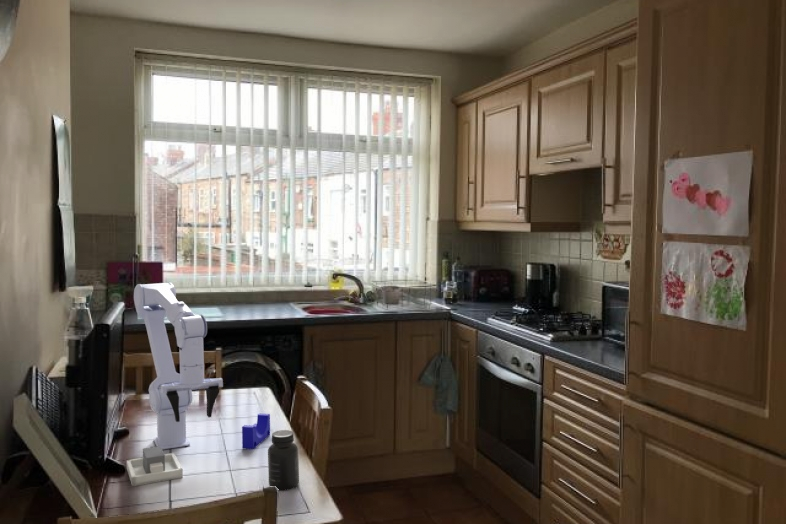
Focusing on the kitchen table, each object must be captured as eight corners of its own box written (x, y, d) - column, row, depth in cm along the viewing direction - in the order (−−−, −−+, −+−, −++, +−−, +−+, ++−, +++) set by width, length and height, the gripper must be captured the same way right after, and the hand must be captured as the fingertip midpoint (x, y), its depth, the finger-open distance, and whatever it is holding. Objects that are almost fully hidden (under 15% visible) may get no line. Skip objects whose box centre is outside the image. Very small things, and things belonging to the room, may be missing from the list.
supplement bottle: (285, 476, 154) (284, 426, 153) (305, 484, 150) (304, 432, 149) (262, 486, 149) (261, 433, 148) (282, 494, 144) (281, 440, 144)
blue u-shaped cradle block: (254, 434, 185) (254, 413, 185) (270, 435, 184) (269, 413, 184) (237, 448, 173) (236, 426, 173) (253, 449, 172) (252, 427, 172)
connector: (143, 466, 159) (142, 448, 159) (160, 463, 161) (160, 446, 161) (148, 480, 151) (147, 461, 150) (166, 477, 153) (166, 458, 152)
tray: (126, 468, 159) (126, 460, 159) (174, 460, 164) (174, 452, 164) (132, 486, 149) (131, 477, 149) (182, 477, 154) (182, 469, 154)
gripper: (163, 370, 157) (165, 427, 158) (225, 364, 163) (226, 418, 164) (159, 365, 163) (161, 419, 164) (218, 359, 170) (220, 411, 170)
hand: (193, 418), depth 164 cm, fingers open, 7 cm apart
